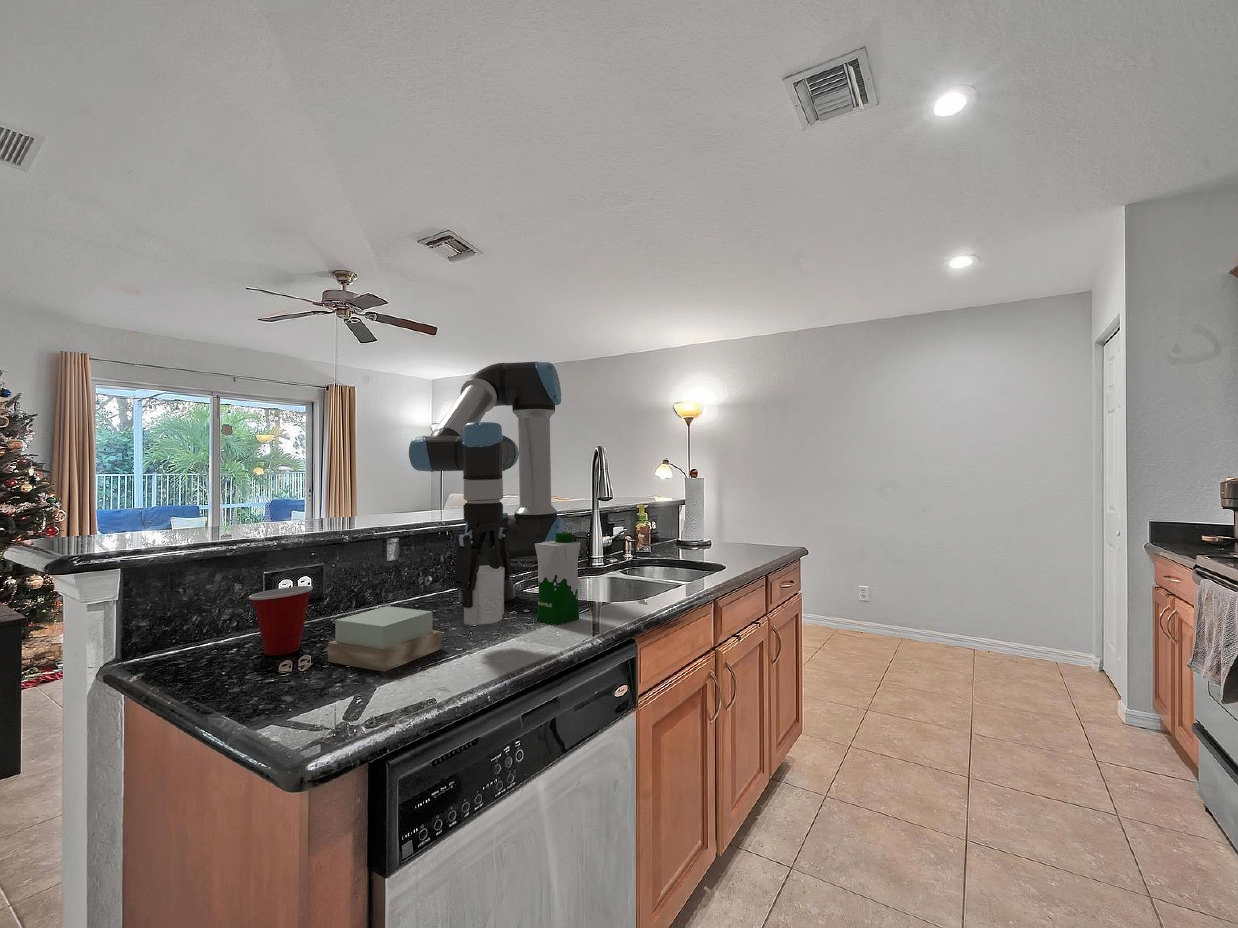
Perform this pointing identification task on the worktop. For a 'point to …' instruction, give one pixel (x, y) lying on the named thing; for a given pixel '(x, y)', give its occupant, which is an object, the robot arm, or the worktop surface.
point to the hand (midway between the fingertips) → (484, 618)
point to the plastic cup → (281, 618)
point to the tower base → (384, 653)
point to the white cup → (490, 594)
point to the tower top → (383, 627)
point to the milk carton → (558, 580)
